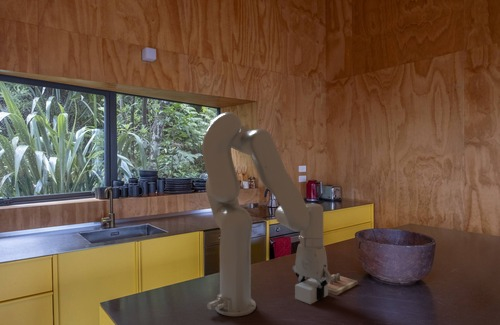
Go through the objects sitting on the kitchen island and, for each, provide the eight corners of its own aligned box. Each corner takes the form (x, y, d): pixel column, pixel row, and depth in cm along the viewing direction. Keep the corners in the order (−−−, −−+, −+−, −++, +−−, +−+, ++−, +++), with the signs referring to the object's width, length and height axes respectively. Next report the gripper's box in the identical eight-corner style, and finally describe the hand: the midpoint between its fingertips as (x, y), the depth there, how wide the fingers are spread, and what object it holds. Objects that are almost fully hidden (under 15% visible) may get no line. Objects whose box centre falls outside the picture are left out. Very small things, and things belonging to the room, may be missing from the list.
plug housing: (310, 304, 109) (310, 290, 109) (295, 298, 113) (295, 285, 113) (328, 295, 116) (328, 281, 116) (313, 290, 120) (313, 277, 120)
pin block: (336, 295, 116) (336, 284, 116) (311, 287, 123) (311, 276, 123) (357, 284, 126) (357, 274, 126) (333, 277, 133) (333, 267, 133)
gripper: (284, 238, 118) (284, 291, 118) (327, 248, 105) (327, 307, 106) (298, 235, 123) (298, 285, 124) (340, 244, 111) (340, 300, 111)
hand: (311, 295), depth 115 cm, fingers closed on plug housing, 6 cm apart
